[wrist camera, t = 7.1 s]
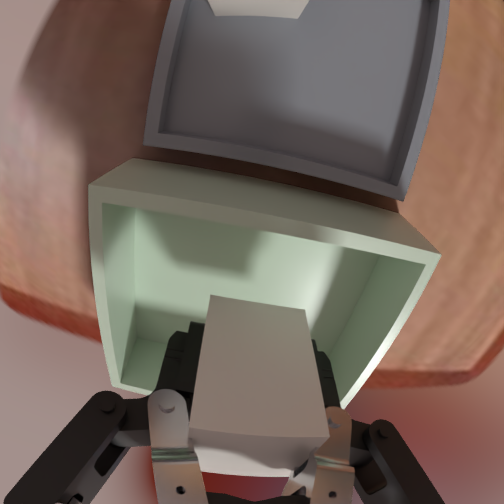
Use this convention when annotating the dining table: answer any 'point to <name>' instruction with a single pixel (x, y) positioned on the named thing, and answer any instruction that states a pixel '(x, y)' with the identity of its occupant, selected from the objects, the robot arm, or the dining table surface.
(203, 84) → the slate tray
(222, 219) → the green bin
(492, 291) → the dining table surface
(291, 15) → the smooth off-white cube
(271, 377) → the off-white rectangular block
